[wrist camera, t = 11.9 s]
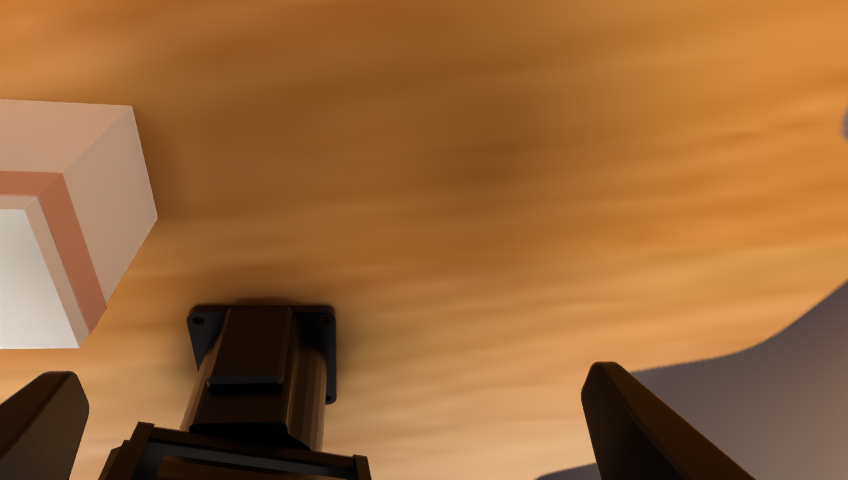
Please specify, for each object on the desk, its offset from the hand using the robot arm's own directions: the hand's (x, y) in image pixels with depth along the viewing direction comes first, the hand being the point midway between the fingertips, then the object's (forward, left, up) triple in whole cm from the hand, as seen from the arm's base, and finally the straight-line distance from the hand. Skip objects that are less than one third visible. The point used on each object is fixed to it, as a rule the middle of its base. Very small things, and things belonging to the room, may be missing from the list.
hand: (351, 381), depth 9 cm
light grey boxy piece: (-2, +10, -12) cm, 16 cm away
